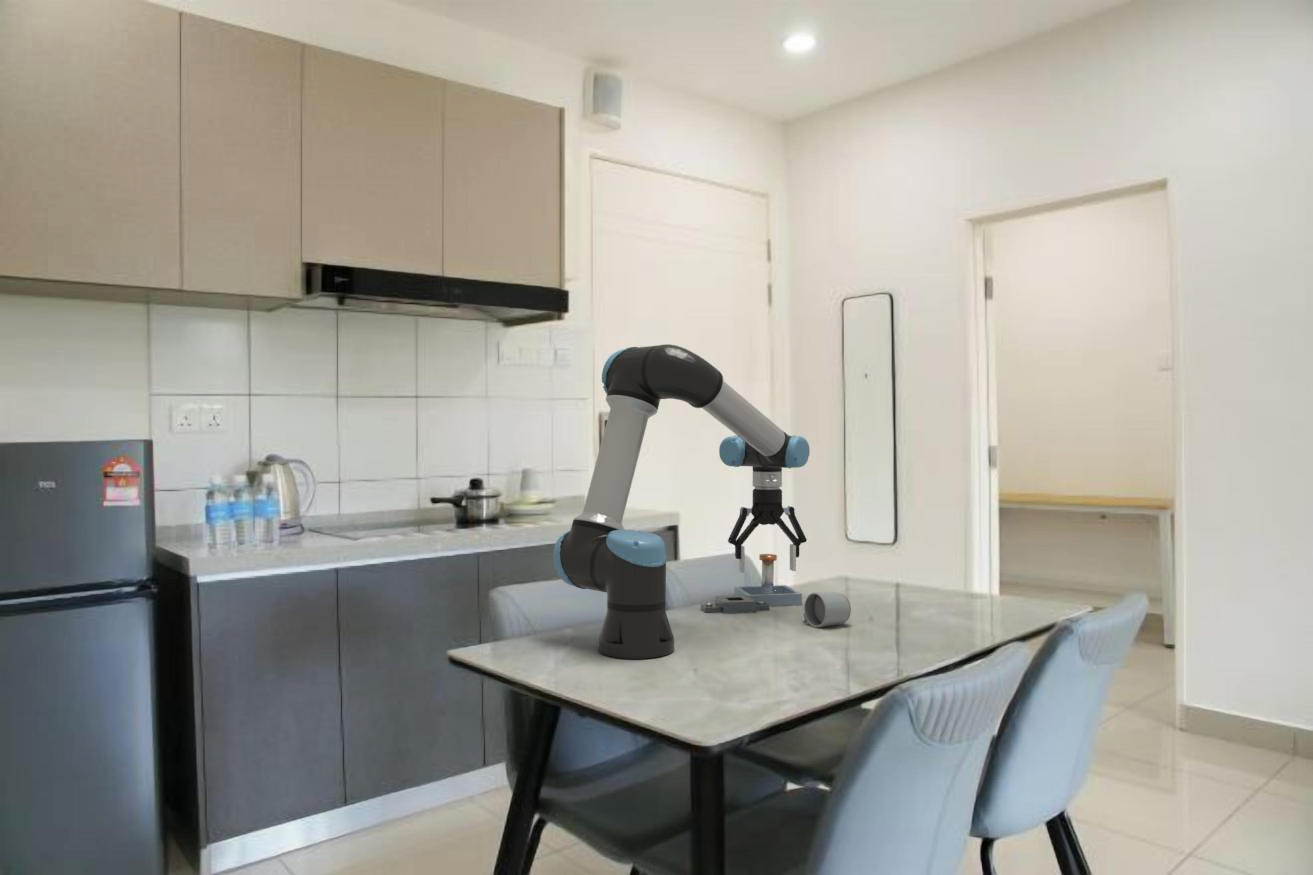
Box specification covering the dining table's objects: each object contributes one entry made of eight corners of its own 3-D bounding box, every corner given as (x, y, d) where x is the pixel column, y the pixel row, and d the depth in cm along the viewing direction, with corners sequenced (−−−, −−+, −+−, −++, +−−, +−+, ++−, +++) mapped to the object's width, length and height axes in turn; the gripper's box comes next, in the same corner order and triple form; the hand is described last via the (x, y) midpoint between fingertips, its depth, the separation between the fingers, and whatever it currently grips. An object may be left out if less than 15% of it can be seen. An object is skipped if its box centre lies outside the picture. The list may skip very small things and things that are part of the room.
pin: (761, 600, 229) (762, 556, 229) (756, 597, 234) (757, 553, 234) (778, 600, 230) (778, 556, 230) (772, 596, 235) (773, 553, 235)
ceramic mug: (853, 626, 202) (853, 591, 202) (825, 630, 198) (825, 595, 198) (821, 618, 211) (821, 585, 211) (794, 622, 207) (794, 588, 207)
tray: (748, 606, 224) (748, 595, 224) (734, 597, 237) (734, 586, 237) (802, 604, 227) (801, 593, 227) (785, 595, 240) (785, 585, 240)
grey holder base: (706, 613, 216) (706, 603, 216) (699, 607, 224) (699, 597, 224) (771, 611, 219) (771, 600, 219) (761, 605, 227) (761, 594, 227)
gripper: (723, 489, 226) (723, 574, 226) (818, 488, 230) (818, 571, 230) (716, 487, 233) (716, 570, 233) (808, 486, 238) (808, 567, 238)
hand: (767, 571), depth 232 cm, fingers open, 13 cm apart
